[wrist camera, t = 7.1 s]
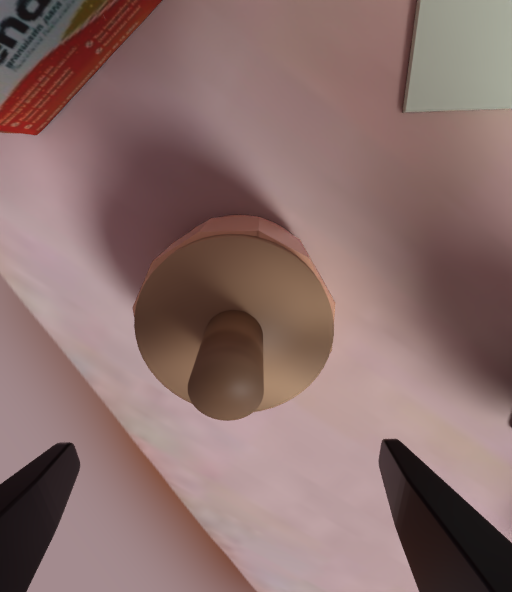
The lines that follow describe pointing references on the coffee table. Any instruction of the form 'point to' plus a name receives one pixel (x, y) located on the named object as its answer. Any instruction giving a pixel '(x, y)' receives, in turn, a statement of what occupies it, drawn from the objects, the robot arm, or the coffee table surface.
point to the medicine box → (56, 53)
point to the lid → (234, 325)
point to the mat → (460, 56)
